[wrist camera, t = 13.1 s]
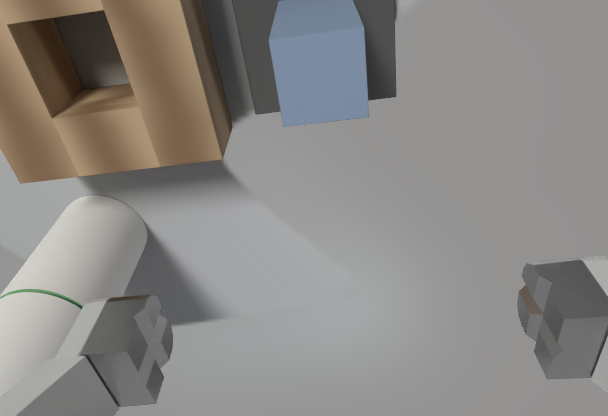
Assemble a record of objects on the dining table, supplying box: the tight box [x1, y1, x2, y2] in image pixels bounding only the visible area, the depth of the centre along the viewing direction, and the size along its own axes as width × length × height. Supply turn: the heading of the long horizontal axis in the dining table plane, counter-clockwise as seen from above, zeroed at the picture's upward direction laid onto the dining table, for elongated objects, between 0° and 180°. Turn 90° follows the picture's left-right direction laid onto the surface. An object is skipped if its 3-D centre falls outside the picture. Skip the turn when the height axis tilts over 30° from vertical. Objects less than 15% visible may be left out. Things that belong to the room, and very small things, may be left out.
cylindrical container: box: [0, 195, 148, 396], centre depth 29 cm, size 7×7×25 cm
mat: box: [232, 0, 396, 114], centre depth 30 cm, size 10×10×1 cm
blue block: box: [269, 0, 369, 127], centre depth 26 cm, size 4×4×9 cm
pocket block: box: [0, 0, 232, 183], centre depth 29 cm, size 14×14×5 cm
